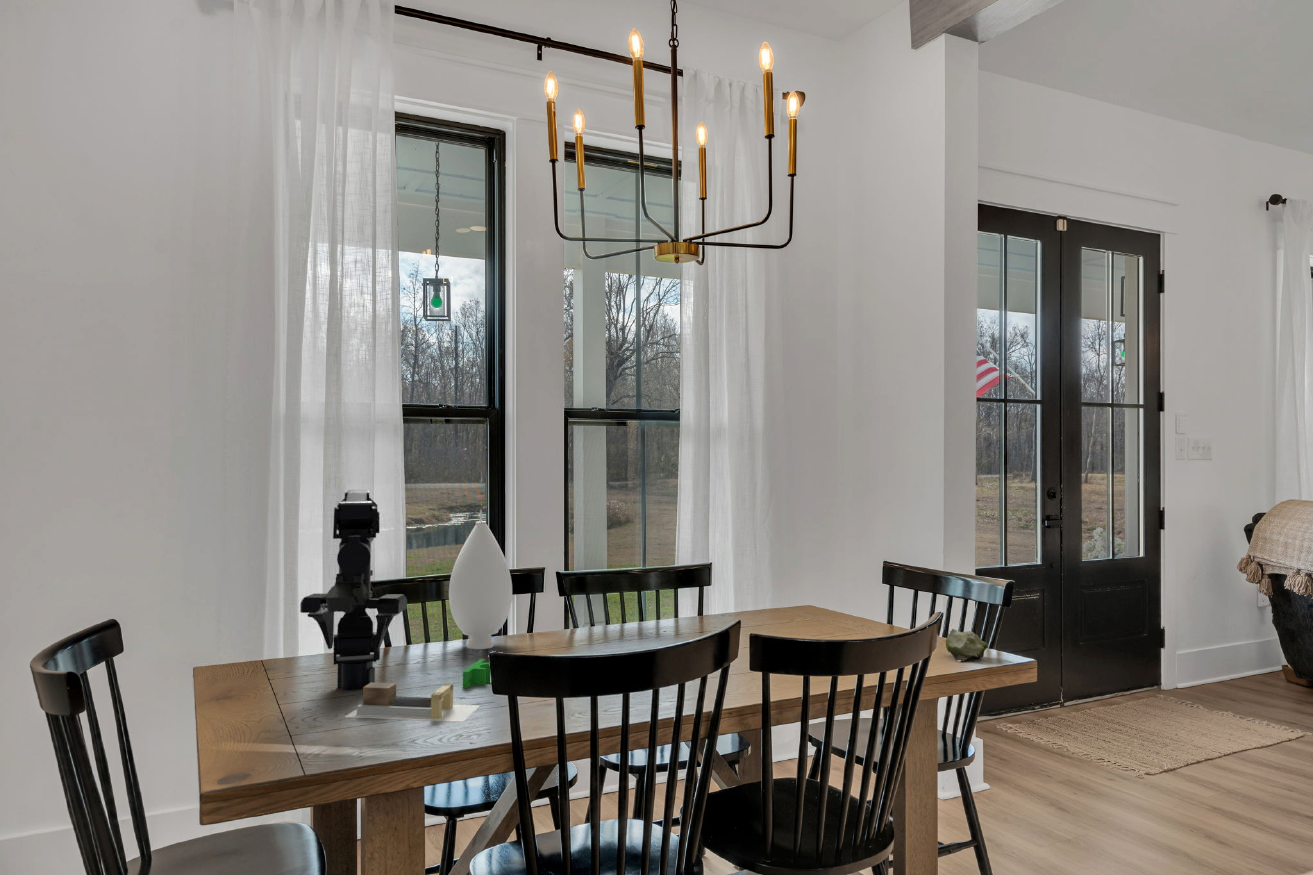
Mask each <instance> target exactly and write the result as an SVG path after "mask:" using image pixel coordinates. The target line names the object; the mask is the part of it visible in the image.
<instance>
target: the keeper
mask: <svg viewBox="0 0 1313 875" xmlns="http://www.w3.org/2000/svg"><path fill="white" fill-rule="evenodd" d="M396 696H397V683H395V682H394V683H393V682H375V683H372V682H371V683H369V684H368V685H366V686H364V687H363V689H362V705H383V706H393V701H394V699H395V697H396Z"/></svg>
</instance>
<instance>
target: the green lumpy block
mask: <svg viewBox="0 0 1313 875" xmlns="http://www.w3.org/2000/svg"><path fill="white" fill-rule="evenodd" d="M944 632H945V634H947V635H948V636H947V637H946V640H945V647H946V650H947V652H948V653H950V654H951V655H952V656H953V658H954V659H955V660H956V661H957V660H961V661H962V662H963V661H965V660H968V659H970V658H971V657H975V656H976V657H977V656H978V657H981V658H980V659H982V658H983V657H984V655H985V651H986V650H987V648H988V646H989V644H988V643H987V642H985V641H983V640H981V638H980V637H979V635H978V634H975V633H974V631H965V632H963V631H959V630H957V629H954V628H952V629H951V630H950V631H949V632H948V631H947V630H946V629H945V630H944ZM978 657H977V658H978Z"/></svg>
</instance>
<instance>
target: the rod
mask: <svg viewBox="0 0 1313 875" xmlns="http://www.w3.org/2000/svg"><path fill="white" fill-rule="evenodd" d="M393 706H409V707H431V697H421V696H397V695H396V697H395V699H394V701H393Z"/></svg>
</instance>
